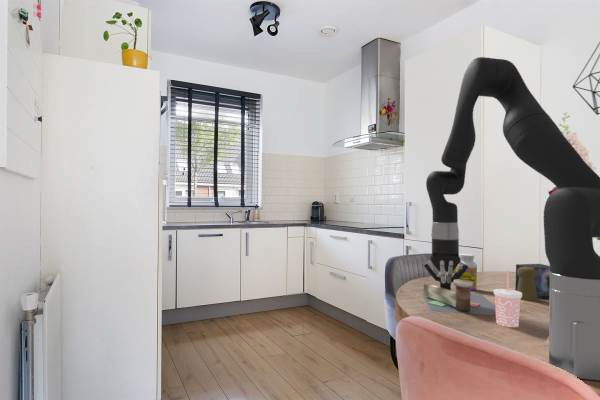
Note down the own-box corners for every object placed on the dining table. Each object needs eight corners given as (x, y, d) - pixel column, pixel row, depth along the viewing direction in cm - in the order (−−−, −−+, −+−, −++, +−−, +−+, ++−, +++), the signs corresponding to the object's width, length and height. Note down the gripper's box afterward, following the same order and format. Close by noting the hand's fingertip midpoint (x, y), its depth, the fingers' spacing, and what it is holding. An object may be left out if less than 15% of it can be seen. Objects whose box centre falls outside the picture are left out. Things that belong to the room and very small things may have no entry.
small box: (531, 300, 116) (531, 267, 116) (514, 295, 122) (514, 264, 122) (556, 298, 118) (557, 266, 118) (538, 293, 125) (539, 263, 125)
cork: (541, 306, 109) (542, 269, 109) (519, 304, 110) (520, 268, 110) (533, 300, 115) (533, 266, 115) (512, 299, 116) (512, 265, 116)
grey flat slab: (507, 320, 94) (507, 314, 94) (431, 314, 98) (431, 309, 98) (480, 297, 118) (480, 292, 118) (419, 293, 121) (419, 289, 121)
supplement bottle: (456, 292, 124) (457, 255, 124) (454, 288, 130) (454, 252, 130) (478, 294, 122) (478, 256, 122) (474, 290, 128) (475, 253, 128)
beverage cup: (487, 326, 89) (487, 269, 90) (504, 323, 92) (504, 268, 92) (510, 334, 84) (511, 273, 84) (527, 331, 86) (528, 272, 86)
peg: (476, 310, 97) (477, 282, 97) (462, 312, 95) (463, 283, 95) (432, 295, 113) (432, 270, 113) (419, 296, 111) (419, 271, 112)
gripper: (423, 238, 107) (424, 297, 106) (471, 238, 104) (472, 299, 104) (420, 236, 114) (420, 291, 114) (465, 236, 111) (465, 293, 111)
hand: (445, 295), depth 109 cm, fingers closed
